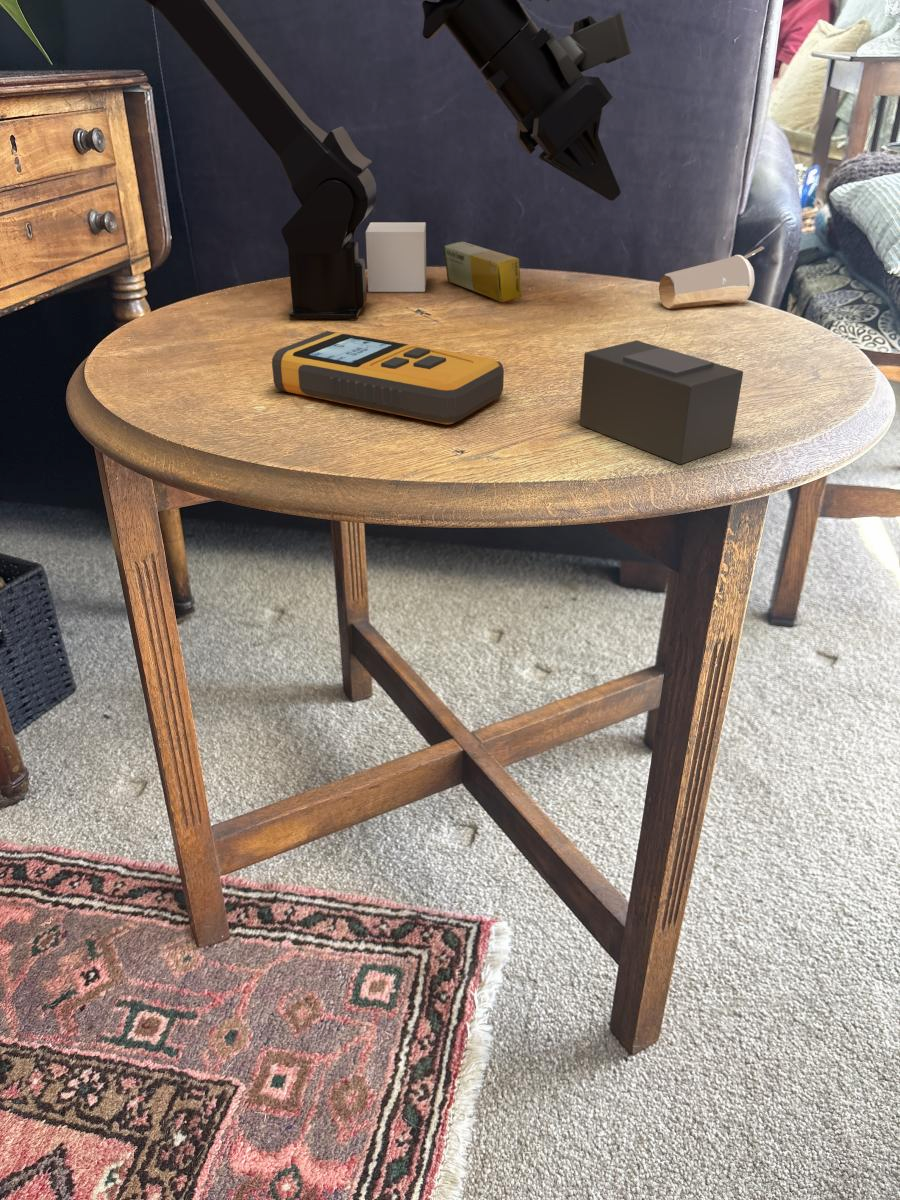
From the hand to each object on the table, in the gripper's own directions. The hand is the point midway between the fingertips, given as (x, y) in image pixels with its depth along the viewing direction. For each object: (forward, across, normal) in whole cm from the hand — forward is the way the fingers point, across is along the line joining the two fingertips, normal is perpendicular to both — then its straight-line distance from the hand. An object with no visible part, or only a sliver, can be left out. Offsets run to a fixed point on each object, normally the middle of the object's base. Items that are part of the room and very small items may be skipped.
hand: (616, 197), depth 85 cm
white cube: (-6, +15, +22) cm, 27 cm away
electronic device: (-4, -22, +24) cm, 33 cm away
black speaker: (+5, -27, +11) cm, 30 cm away
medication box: (0, +12, +15) cm, 19 cm away
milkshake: (+10, +4, +1) cm, 11 cm away
